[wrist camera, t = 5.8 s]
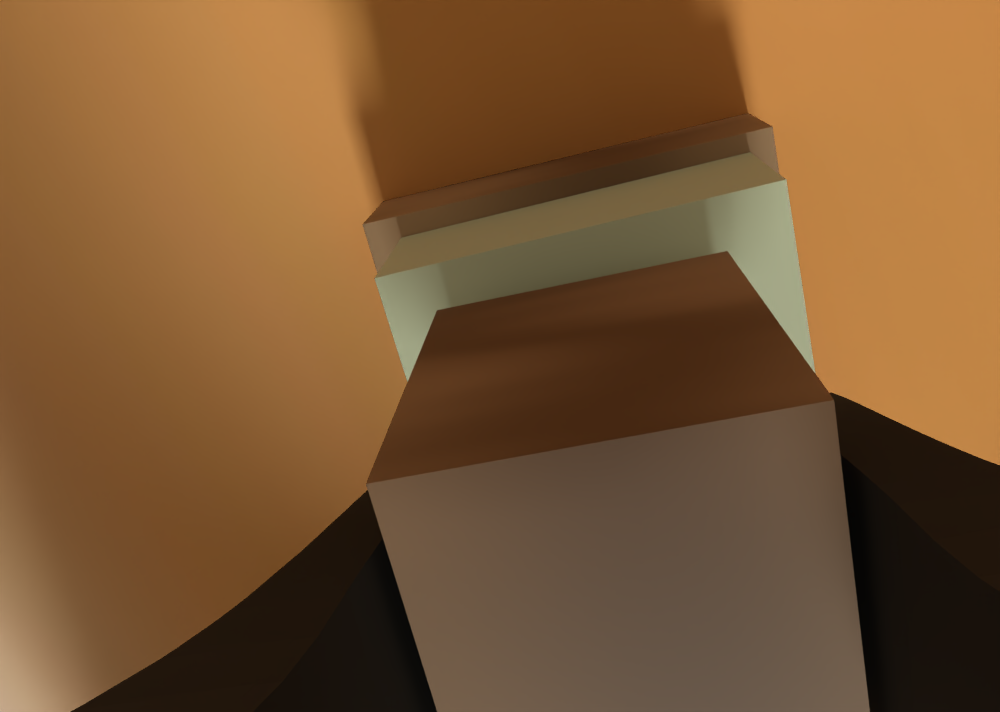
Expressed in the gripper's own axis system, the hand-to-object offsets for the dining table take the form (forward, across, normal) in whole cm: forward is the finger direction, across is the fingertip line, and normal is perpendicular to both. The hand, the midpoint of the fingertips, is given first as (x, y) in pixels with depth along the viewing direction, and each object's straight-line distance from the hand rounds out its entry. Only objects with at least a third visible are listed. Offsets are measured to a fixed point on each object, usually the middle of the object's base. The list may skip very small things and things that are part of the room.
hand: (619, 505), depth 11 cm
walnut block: (+2, 0, 0) cm, 2 cm away
